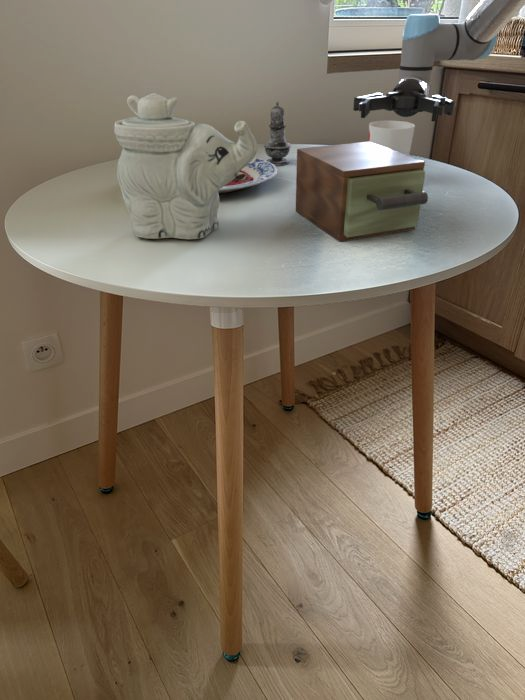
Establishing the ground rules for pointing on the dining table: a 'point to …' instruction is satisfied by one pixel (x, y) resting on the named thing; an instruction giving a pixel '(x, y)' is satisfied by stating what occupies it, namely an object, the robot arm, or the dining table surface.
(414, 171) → the drawer
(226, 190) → the ceramic plate
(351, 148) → the cabinet
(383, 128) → the cup
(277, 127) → the salt shaker
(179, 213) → the teapot
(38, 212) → the dining table surface
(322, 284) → the dining table surface
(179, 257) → the dining table surface
